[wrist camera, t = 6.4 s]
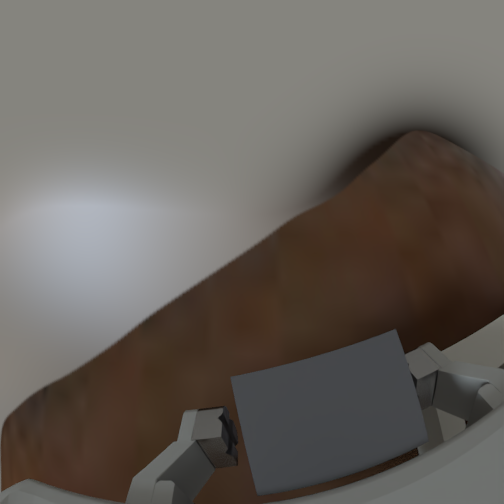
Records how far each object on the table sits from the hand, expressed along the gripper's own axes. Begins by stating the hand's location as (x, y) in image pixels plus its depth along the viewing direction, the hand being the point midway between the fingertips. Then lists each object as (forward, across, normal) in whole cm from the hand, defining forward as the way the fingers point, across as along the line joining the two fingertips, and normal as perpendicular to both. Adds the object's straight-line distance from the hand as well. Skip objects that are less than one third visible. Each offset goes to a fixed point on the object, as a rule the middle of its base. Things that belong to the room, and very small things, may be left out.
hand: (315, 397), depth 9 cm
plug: (+3, 0, +4) cm, 5 cm away
